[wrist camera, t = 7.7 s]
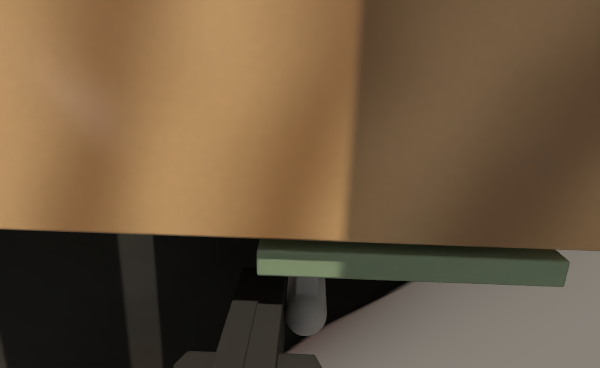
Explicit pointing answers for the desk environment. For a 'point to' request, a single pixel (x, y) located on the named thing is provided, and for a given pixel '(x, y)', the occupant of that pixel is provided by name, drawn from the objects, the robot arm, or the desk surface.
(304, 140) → the cabinet
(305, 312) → the sliding door
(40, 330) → the desk surface
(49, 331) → the desk surface
